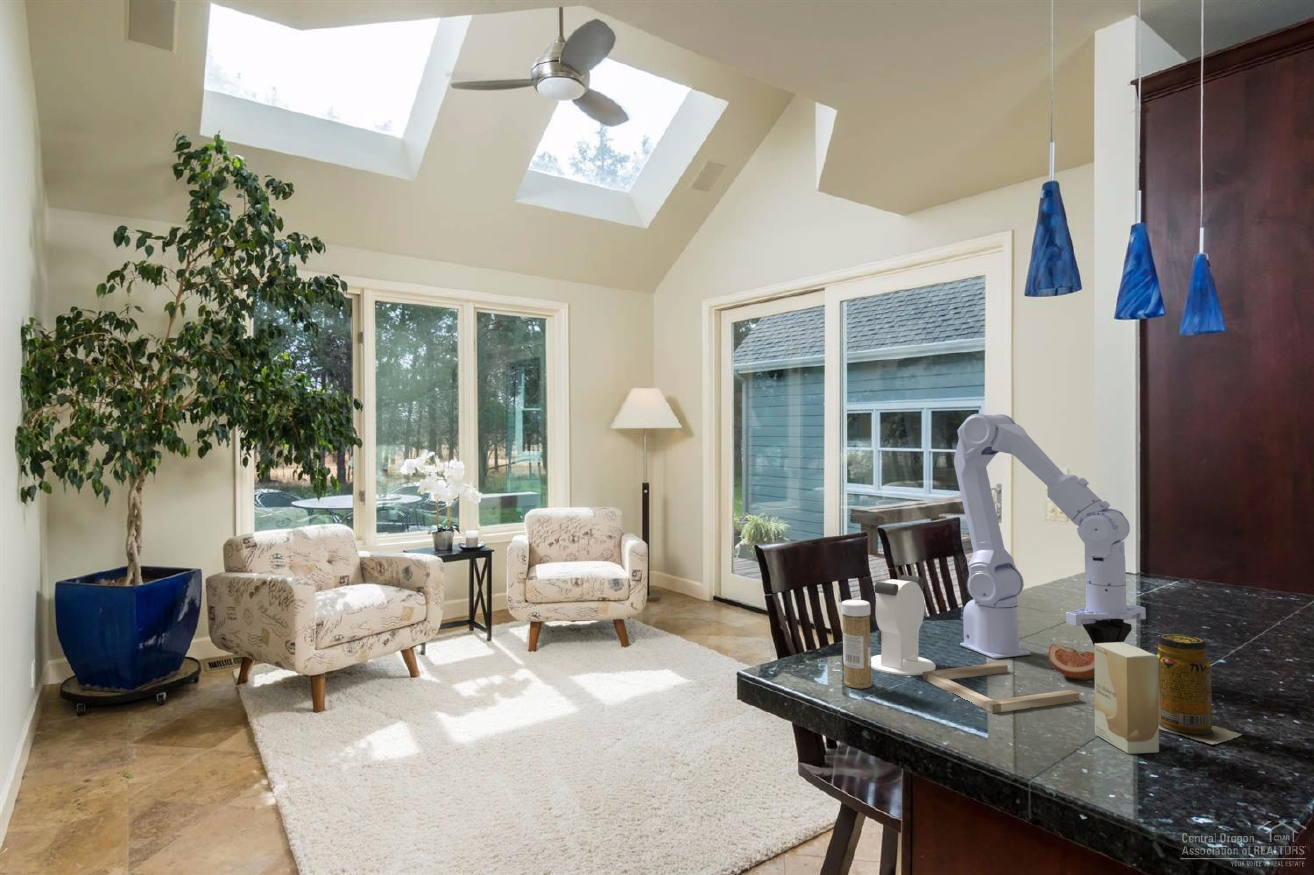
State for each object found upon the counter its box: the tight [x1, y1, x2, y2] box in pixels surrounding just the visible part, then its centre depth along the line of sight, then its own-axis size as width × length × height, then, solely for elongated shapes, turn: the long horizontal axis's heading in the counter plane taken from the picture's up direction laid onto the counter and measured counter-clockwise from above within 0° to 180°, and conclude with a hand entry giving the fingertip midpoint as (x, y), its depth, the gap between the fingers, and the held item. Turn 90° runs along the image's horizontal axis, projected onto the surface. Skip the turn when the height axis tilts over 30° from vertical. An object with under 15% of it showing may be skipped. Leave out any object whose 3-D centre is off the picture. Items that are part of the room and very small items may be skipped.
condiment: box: [1156, 633, 1243, 745], centre depth 96 cm, size 7×8×12 cm
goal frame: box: [922, 662, 1080, 714], centre depth 112 cm, size 16×16×1 cm
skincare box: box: [1093, 641, 1160, 755], centre depth 92 cm, size 6×4×12 cm
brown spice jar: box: [840, 599, 873, 690], centre depth 116 cm, size 5×5×13 cm
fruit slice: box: [1048, 643, 1095, 681], centre depth 117 cm, size 8×7×5 cm
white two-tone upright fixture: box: [871, 574, 937, 676], centre depth 126 cm, size 12×11×15 cm
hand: (1107, 665), depth 118 cm, fingers closed
